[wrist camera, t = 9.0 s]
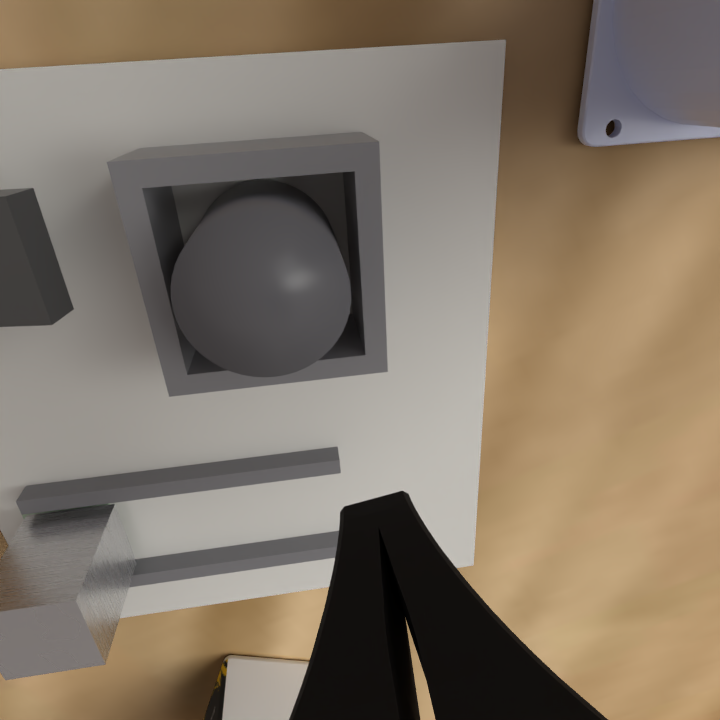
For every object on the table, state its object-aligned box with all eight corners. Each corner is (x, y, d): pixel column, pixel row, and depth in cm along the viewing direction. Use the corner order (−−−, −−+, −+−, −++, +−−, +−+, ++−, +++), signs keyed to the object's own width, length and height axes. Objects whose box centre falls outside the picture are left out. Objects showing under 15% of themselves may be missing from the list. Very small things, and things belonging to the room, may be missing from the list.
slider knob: (115, 503, 19) (75, 600, 15) (136, 563, 20) (105, 664, 17) (26, 515, 18) (-34, 616, 15) (54, 574, 20) (5, 680, 16)
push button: (329, 174, 15) (344, 201, 11) (340, 307, 16) (356, 367, 13) (183, 186, 14) (150, 217, 11) (211, 320, 16) (191, 386, 13)
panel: (486, 43, 15) (558, 28, 11) (463, 539, 25) (497, 626, 21) (-180, 83, 14) (-368, 81, 10) (64, 597, 23) (19, 703, 19)
